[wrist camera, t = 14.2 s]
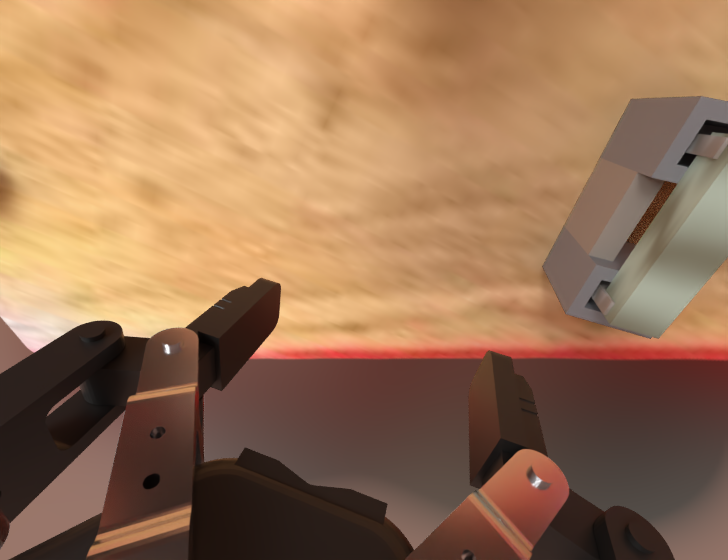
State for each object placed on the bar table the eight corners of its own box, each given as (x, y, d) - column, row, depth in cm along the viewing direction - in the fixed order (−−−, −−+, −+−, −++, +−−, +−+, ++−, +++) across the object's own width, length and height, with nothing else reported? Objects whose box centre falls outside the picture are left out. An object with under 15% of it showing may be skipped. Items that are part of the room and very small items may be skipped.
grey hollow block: (631, 98, 29) (701, 96, 20) (718, 116, 28) (830, 121, 19) (542, 266, 37) (565, 314, 29) (606, 284, 36) (650, 338, 28)
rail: (681, 128, 23) (742, 134, 18) (743, 141, 23) (823, 151, 18) (582, 286, 30) (606, 323, 25) (627, 299, 30) (661, 339, 25)
